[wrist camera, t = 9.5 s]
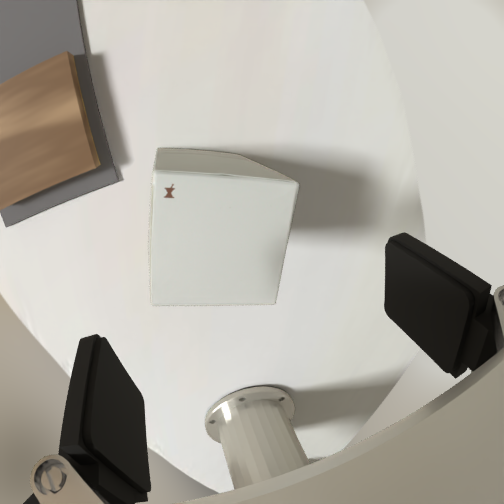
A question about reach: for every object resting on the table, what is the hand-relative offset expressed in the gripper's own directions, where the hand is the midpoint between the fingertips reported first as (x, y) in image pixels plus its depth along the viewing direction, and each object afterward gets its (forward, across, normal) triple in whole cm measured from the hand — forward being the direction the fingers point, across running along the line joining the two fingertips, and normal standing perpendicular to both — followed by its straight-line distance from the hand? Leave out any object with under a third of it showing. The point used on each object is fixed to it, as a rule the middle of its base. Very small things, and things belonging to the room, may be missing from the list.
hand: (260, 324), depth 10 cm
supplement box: (+20, 0, 0) cm, 20 cm away
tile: (+18, +12, -14) cm, 26 cm away
